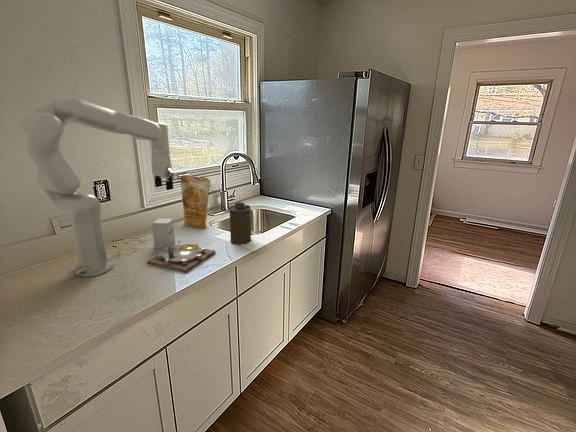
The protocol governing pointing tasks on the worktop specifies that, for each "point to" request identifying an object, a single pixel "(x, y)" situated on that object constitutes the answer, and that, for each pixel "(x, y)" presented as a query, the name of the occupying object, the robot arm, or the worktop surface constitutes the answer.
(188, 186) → the pancake mix bag
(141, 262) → the worktop surface
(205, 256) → the walnut plinth
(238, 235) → the canister
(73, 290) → the worktop surface
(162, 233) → the supplement box
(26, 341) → the worktop surface
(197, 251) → the sprocket wheel
